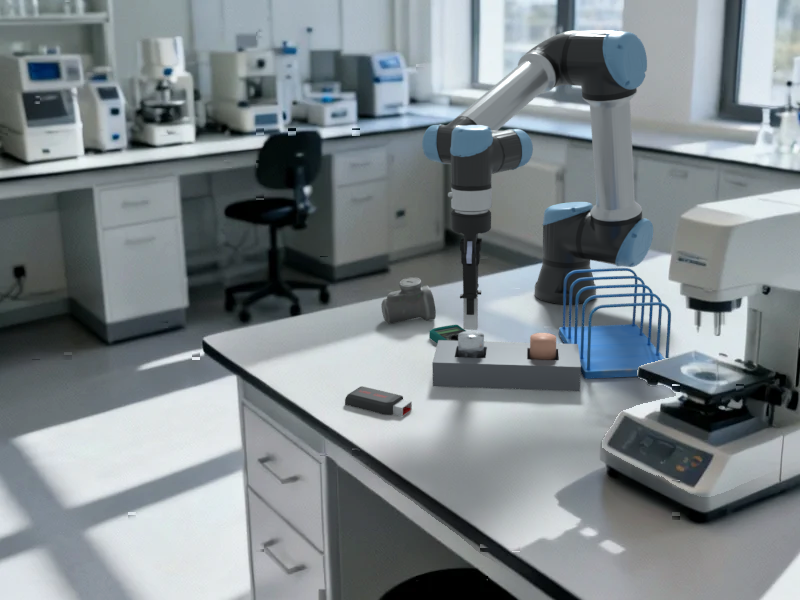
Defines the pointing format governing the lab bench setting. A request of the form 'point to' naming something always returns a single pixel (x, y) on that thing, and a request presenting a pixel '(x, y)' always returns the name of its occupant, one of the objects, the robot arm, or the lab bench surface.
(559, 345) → the block
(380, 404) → the usb drive
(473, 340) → the steel plunger
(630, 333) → the file sorter
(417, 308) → the pipe fitting
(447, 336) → the digital multimeter
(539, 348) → the peach rounded dome part
